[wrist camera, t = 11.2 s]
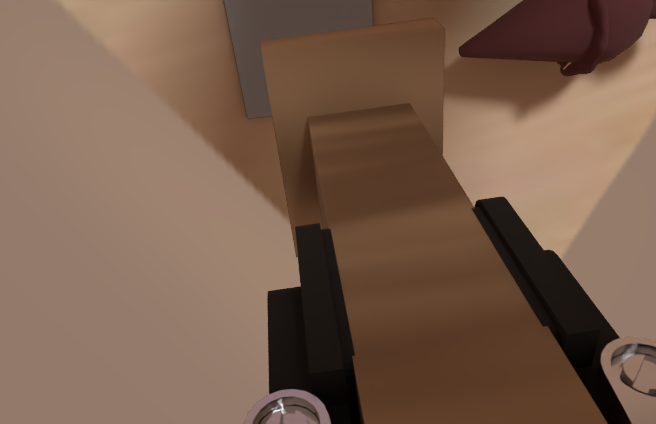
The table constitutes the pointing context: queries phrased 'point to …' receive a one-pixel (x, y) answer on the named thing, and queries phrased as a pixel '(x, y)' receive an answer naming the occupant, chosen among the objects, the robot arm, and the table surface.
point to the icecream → (563, 32)
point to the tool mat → (282, 34)
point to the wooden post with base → (409, 236)
